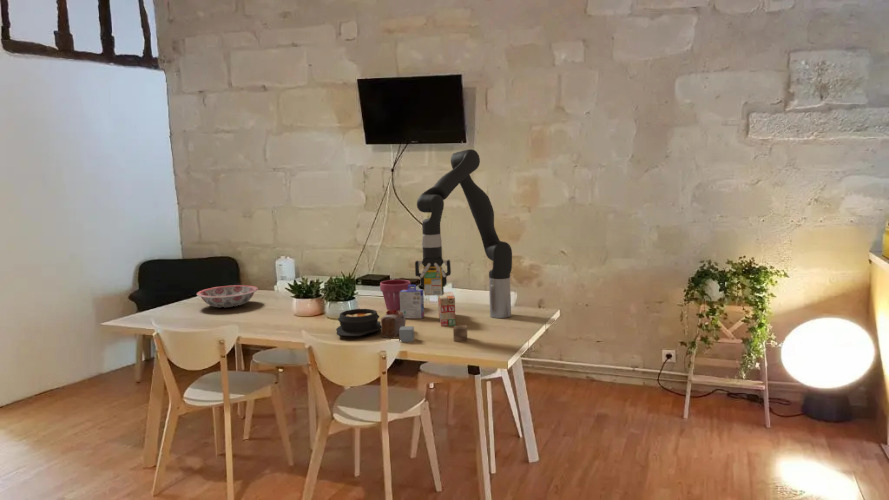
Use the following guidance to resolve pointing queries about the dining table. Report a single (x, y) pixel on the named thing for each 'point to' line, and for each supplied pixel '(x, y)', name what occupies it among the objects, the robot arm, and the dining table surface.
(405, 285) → the plant pot
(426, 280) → the crayon box
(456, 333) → the walnut block
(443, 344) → the dining table surface
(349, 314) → the casserole
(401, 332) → the slate-grey block
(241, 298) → the ceramic bowl
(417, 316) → the ink cartridge box
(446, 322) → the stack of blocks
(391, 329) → the food item
